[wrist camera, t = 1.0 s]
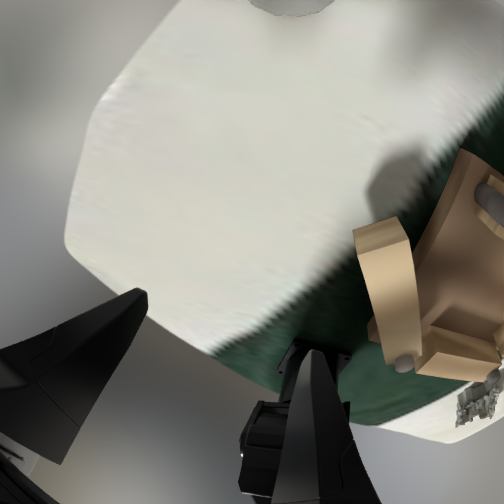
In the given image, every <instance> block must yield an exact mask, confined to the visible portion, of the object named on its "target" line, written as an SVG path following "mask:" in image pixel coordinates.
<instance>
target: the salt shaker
mask: <svg viewBox="0 0 504 504" xmlns="http://www.w3.org/2000/svg"><path fill="white" fill-rule="evenodd" d="M249 1H250V2H251V4H252V5H254V6H255V7H257V8H260V9H262V10H264V11H266V12H269V13H271V14H273V15H279V16H292V17H299V16H303V15H308V14H313V13H318V12H320V11H321V10H322V9H324V8H325V7H327V6H328V5H329V4H331V3H332V2H333V1H334V0H249Z"/></svg>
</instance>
